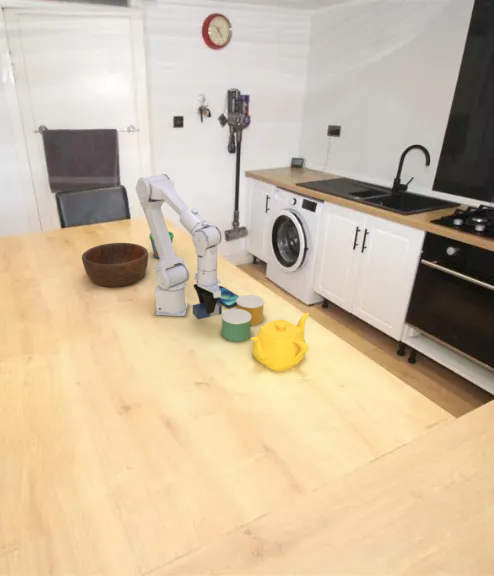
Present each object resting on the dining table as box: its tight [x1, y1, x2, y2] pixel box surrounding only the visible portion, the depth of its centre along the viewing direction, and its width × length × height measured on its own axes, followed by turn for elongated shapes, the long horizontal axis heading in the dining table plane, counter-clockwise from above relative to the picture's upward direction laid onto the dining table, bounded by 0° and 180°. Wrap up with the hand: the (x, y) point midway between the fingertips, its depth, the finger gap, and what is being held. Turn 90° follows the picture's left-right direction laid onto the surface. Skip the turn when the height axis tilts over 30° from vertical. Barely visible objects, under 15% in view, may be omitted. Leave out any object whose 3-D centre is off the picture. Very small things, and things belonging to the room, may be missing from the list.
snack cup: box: [148, 231, 175, 259], centre depth 181 cm, size 16×10×10 cm
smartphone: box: [218, 285, 240, 308], centre depth 145 cm, size 8×1×15 cm
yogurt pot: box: [221, 308, 251, 343], centre depth 122 cm, size 9×9×6 cm
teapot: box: [250, 312, 310, 372], centre depth 109 cm, size 22×16×11 cm
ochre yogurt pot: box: [236, 294, 265, 326], centre depth 130 cm, size 9×9×6 cm
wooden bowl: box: [81, 242, 149, 288], centre depth 159 cm, size 25×25×10 cm
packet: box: [192, 301, 223, 320], centre depth 124 cm, size 8×4×3 cm, turn 114°
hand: (207, 309), depth 124 cm, fingers closed on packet, 4 cm apart
